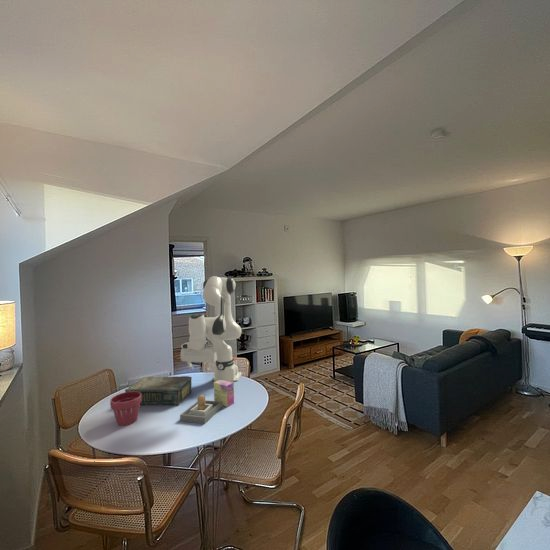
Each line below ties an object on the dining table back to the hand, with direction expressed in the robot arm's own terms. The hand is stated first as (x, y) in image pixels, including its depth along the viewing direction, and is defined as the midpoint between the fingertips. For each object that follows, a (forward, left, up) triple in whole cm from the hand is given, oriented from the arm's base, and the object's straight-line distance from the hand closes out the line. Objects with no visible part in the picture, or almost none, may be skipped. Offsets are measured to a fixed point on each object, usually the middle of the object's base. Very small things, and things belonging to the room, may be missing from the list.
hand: (199, 369), depth 155 cm
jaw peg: (+3, +2, -21) cm, 21 cm away
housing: (+3, +2, -22) cm, 22 cm away
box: (-11, +8, -23) cm, 26 cm away
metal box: (-11, -34, -23) cm, 42 cm away
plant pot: (+18, -32, -22) cm, 43 cm away
